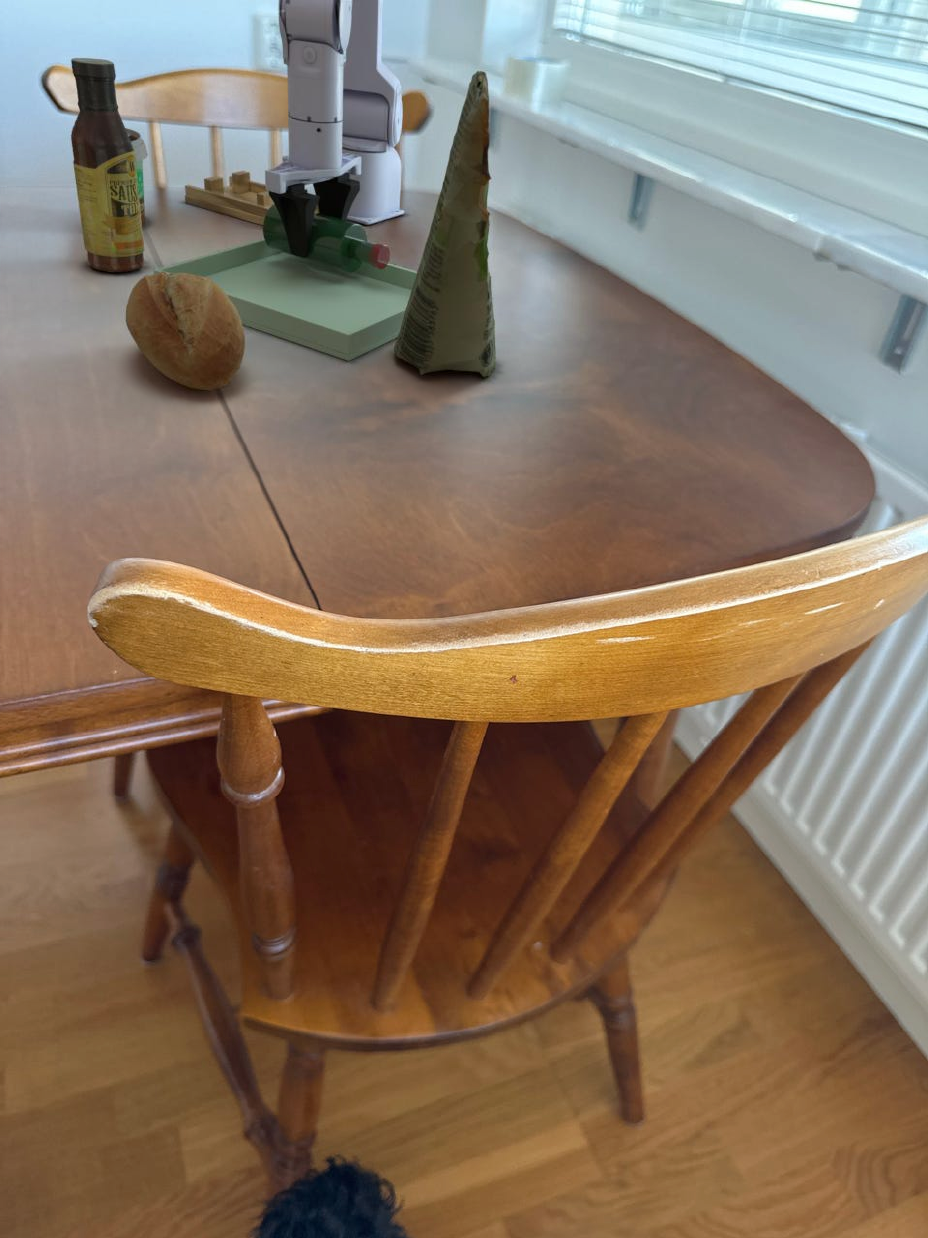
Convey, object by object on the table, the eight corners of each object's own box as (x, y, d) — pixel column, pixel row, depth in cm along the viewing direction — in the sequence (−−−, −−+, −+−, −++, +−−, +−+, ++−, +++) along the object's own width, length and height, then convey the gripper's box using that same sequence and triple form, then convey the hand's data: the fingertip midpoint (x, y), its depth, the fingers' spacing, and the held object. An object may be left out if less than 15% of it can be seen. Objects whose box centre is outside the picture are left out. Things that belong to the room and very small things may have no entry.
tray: (284, 254, 110) (283, 232, 108) (459, 307, 101) (461, 284, 100) (155, 294, 95) (152, 269, 93) (348, 361, 86) (349, 334, 85)
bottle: (291, 244, 108) (291, 198, 104) (395, 276, 102) (398, 228, 99) (263, 253, 104) (261, 205, 101) (369, 286, 99) (371, 237, 96)
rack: (234, 191, 130) (233, 165, 128) (322, 216, 125) (322, 189, 123) (184, 202, 123) (182, 175, 121) (276, 229, 118) (275, 200, 116)
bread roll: (155, 408, 74) (143, 313, 70) (116, 341, 84) (104, 253, 79) (266, 395, 79) (263, 304, 74) (217, 332, 89) (211, 249, 84)
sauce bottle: (129, 278, 98) (102, 67, 86) (76, 269, 98) (42, 58, 86) (157, 262, 103) (136, 61, 91) (106, 253, 104) (78, 52, 91)
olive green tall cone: (449, 332, 95) (475, 58, 80) (530, 373, 89) (576, 83, 73) (367, 352, 88) (378, 57, 73) (448, 397, 82) (478, 85, 67)
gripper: (326, 104, 101) (326, 230, 110) (239, 116, 91) (246, 254, 99) (378, 116, 99) (373, 243, 107) (294, 130, 89) (296, 270, 97)
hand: (315, 250), depth 103 cm, fingers closed on bottle, 5 cm apart
